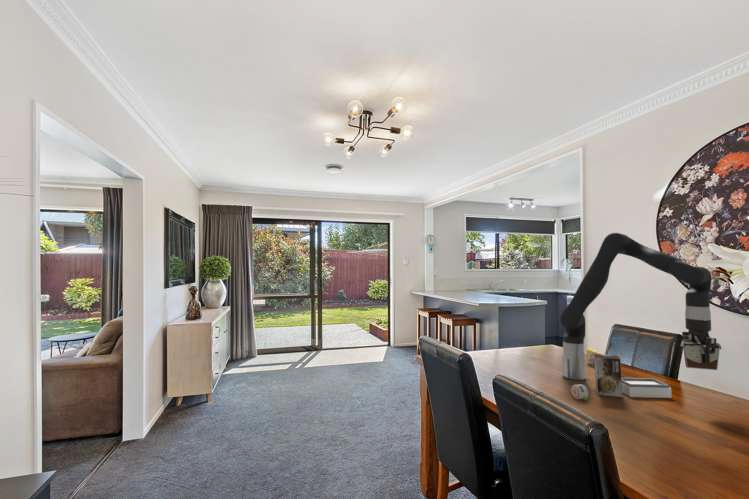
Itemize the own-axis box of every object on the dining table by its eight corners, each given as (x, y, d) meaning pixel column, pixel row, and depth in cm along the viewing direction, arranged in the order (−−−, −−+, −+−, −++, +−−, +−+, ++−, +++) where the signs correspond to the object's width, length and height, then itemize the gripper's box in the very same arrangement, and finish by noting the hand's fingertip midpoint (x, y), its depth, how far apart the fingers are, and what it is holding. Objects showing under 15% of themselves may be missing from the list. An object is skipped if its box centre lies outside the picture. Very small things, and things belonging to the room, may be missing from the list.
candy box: (586, 363, 206) (586, 349, 206) (590, 363, 206) (589, 348, 206) (608, 372, 190) (607, 356, 190) (612, 372, 190) (611, 355, 190)
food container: (713, 366, 144) (712, 340, 144) (722, 370, 138) (721, 343, 138) (675, 363, 148) (674, 338, 148) (682, 367, 142) (682, 341, 142)
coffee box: (619, 392, 159) (618, 355, 159) (622, 397, 153) (621, 358, 154) (595, 390, 162) (594, 353, 163) (597, 394, 157) (595, 356, 157)
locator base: (630, 396, 154) (629, 384, 154) (615, 388, 164) (615, 377, 165) (671, 397, 152) (671, 385, 152) (654, 389, 163) (653, 377, 163)
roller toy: (580, 402, 149) (579, 387, 149) (569, 396, 155) (568, 382, 155) (589, 401, 149) (589, 386, 150) (578, 395, 156) (578, 382, 156)
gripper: (674, 315, 150) (675, 356, 150) (702, 320, 136) (703, 366, 135) (693, 315, 150) (695, 357, 149) (724, 320, 135) (725, 367, 135)
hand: (699, 361), depth 142 cm, fingers closed on food container, 5 cm apart
